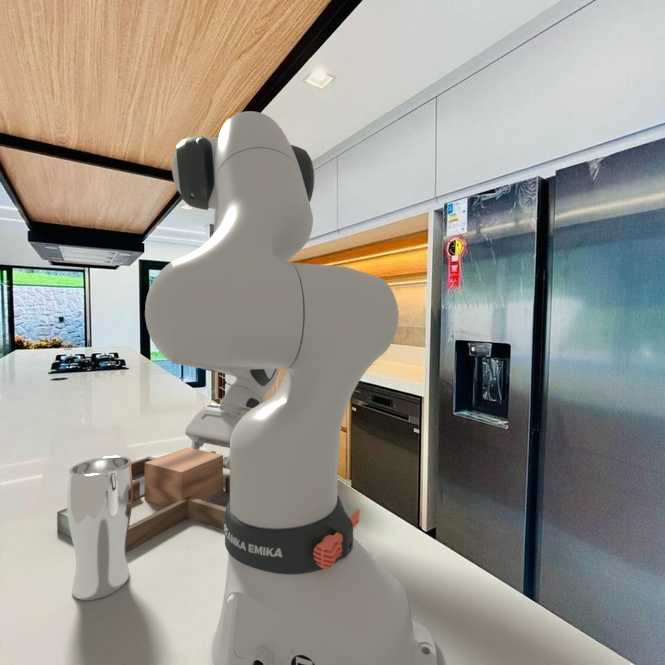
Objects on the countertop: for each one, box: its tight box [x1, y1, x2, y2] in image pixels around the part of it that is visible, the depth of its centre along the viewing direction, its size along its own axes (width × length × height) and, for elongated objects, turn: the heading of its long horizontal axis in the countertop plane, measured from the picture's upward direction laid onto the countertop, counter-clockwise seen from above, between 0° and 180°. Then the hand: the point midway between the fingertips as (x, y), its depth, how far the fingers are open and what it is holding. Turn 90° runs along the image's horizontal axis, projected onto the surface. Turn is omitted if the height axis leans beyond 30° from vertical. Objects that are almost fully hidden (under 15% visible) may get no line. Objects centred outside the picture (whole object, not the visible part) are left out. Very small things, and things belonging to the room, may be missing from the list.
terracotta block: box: [144, 447, 224, 508], centre depth 71 cm, size 10×10×7 cm
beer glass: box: [66, 455, 134, 601], centre depth 46 cm, size 7×7×15 cm
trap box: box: [56, 450, 230, 553], centre depth 70 cm, size 35×33×3 cm
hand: (207, 463), depth 76 cm, fingers open, 8 cm apart
